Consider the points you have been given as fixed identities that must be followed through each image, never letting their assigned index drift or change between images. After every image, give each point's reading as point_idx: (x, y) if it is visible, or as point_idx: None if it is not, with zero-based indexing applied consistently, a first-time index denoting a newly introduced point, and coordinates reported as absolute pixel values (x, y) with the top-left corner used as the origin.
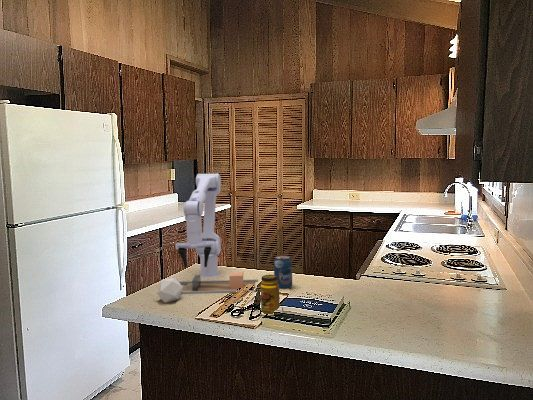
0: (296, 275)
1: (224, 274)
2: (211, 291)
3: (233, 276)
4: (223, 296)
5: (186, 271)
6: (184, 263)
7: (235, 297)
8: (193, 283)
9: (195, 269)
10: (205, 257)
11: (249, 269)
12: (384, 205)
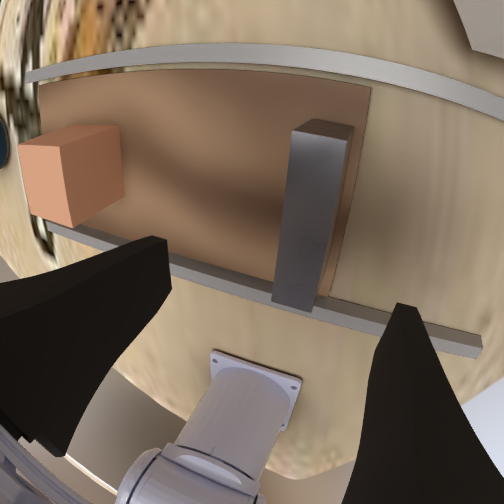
0: (9, 257)
1: (193, 376)
2: (203, 44)
3: (47, 144)
4: (148, 12)
5: (345, 456)
6: (423, 342)
7: (98, 3)
8: (336, 132)
9: (309, 459)
10: (55, 283)
11: (126, 377)
12: (80, 467)
